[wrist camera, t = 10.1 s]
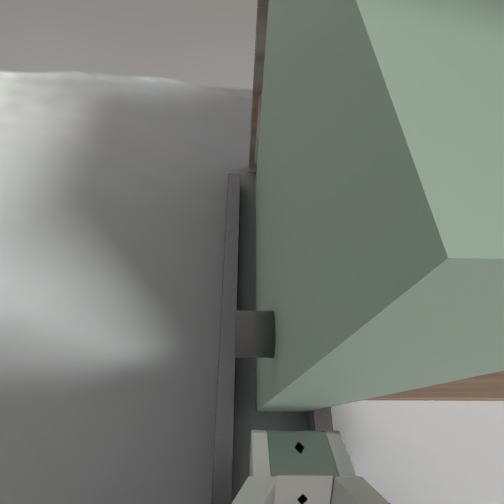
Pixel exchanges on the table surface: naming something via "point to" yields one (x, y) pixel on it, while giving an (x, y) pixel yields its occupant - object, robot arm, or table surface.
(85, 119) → the table surface
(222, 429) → the door track
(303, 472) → the robot arm
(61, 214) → the table surface
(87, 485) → the table surface
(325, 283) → the cabinet door
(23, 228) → the table surface
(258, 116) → the walnut cabinet
